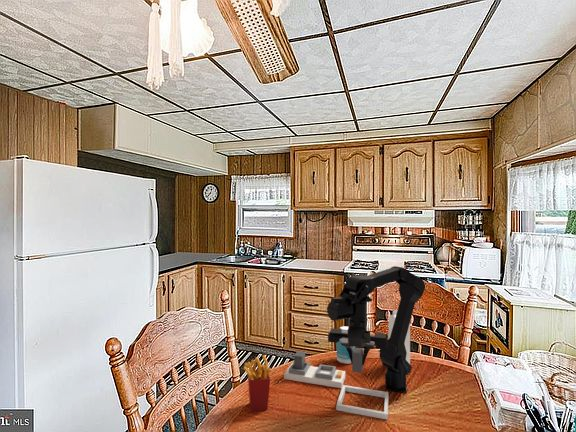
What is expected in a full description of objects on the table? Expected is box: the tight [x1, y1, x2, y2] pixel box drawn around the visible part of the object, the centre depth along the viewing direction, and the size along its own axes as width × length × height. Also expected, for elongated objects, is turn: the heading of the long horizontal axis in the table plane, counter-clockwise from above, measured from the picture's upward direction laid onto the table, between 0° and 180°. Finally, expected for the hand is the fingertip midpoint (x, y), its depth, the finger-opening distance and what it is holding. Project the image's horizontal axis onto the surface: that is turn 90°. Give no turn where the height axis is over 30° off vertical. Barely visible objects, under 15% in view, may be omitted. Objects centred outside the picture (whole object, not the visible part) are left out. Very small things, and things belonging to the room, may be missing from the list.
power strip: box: [283, 361, 346, 389], centre depth 121 cm, size 21×9×4 cm, turn 72°
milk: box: [388, 309, 411, 365], centre depth 132 cm, size 6×6×22 cm
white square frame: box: [335, 384, 389, 420], centre depth 104 cm, size 15×13×2 cm
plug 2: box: [351, 347, 364, 374], centre depth 106 cm, size 3×4×6 cm, turn 163°
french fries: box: [243, 354, 272, 413], centre depth 103 cm, size 9×8×15 cm
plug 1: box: [293, 350, 306, 370], centre depth 123 cm, size 3×4×6 cm, turn 162°
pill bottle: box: [336, 325, 356, 365], centre depth 136 cm, size 8×7×14 cm
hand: (357, 364), depth 106 cm, fingers closed on plug 2, 3 cm apart
